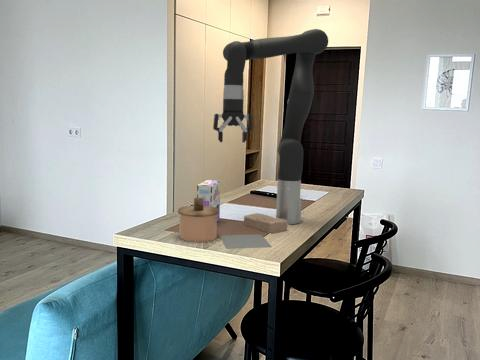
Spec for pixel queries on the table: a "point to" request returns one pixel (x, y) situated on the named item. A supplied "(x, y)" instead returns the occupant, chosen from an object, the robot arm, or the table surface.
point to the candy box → (210, 194)
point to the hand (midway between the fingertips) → (232, 142)
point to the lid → (198, 209)
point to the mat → (244, 241)
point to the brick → (265, 223)
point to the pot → (198, 228)
